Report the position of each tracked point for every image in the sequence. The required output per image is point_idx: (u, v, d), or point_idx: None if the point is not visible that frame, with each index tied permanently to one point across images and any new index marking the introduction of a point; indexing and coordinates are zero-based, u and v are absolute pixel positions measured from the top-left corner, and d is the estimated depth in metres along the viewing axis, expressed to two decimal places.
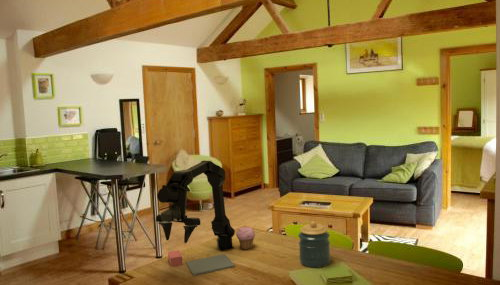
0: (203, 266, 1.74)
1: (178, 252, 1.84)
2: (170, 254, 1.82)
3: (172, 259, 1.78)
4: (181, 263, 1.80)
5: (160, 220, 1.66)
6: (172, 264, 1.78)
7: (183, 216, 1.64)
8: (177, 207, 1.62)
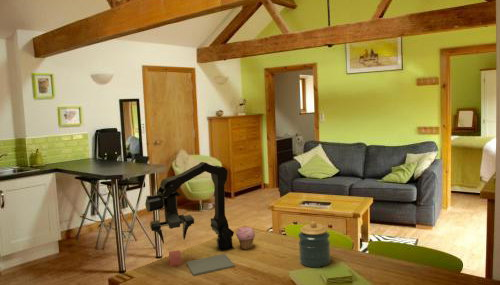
0: (203, 266, 1.74)
1: (178, 252, 1.84)
2: (170, 254, 1.83)
3: (171, 259, 1.78)
4: (180, 263, 1.79)
5: (158, 228, 1.76)
6: (171, 264, 1.79)
7: None
8: (176, 212, 1.78)
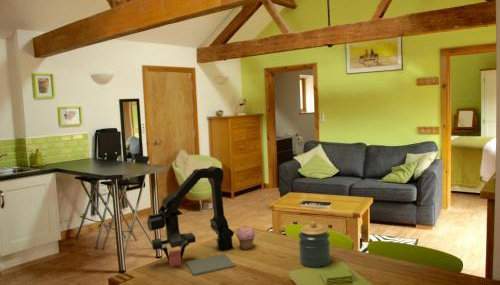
0: (203, 266, 1.74)
1: (178, 252, 1.84)
2: (170, 253, 1.83)
3: (170, 258, 1.78)
4: (180, 263, 1.79)
5: (160, 247, 1.77)
6: (170, 263, 1.79)
7: None
8: (177, 230, 1.79)
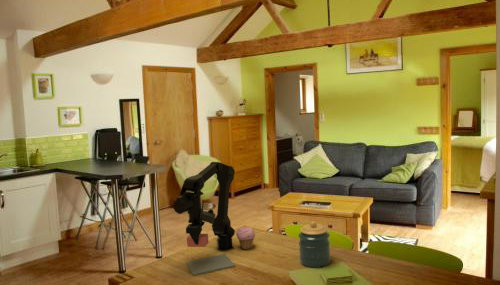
0: (203, 266, 1.74)
1: None
2: None
3: (205, 238, 1.75)
4: None
5: (201, 228, 1.70)
6: (205, 243, 1.75)
7: None
8: (202, 209, 1.78)
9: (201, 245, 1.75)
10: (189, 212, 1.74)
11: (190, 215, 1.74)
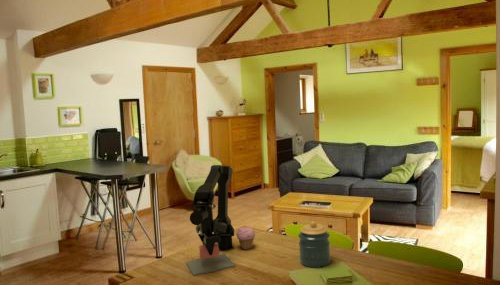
0: (203, 266, 1.74)
1: None
2: None
3: (218, 248, 1.75)
4: None
5: None
6: (218, 253, 1.75)
7: None
8: None
9: (215, 255, 1.75)
10: (203, 223, 1.72)
11: (204, 226, 1.72)
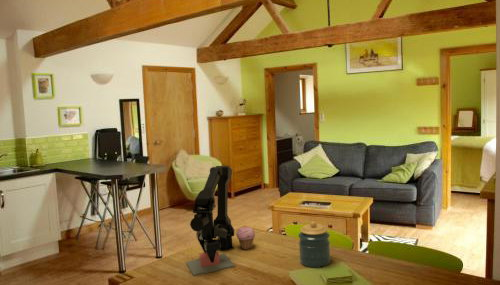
0: None
1: (206, 253, 1.78)
2: None
3: None
4: None
5: None
6: (219, 261, 1.76)
7: None
8: None
9: (216, 263, 1.75)
10: (203, 229, 1.72)
11: (204, 232, 1.73)
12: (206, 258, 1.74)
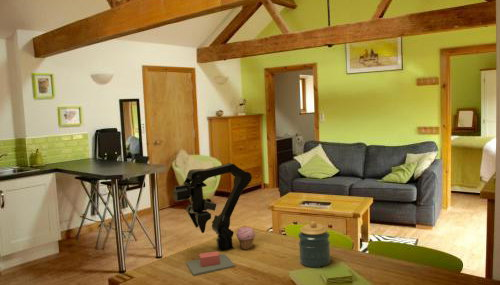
0: None
1: (206, 253, 1.78)
2: (208, 256, 1.75)
3: None
4: None
5: None
6: (219, 261, 1.76)
7: None
8: None
9: (216, 263, 1.75)
10: (194, 202, 1.84)
11: (195, 205, 1.85)
12: (206, 258, 1.74)
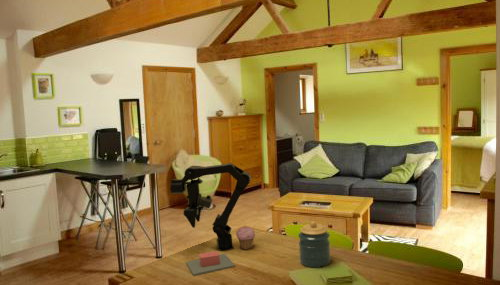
0: None
1: (206, 253, 1.78)
2: (208, 256, 1.75)
3: None
4: None
5: (197, 212, 1.89)
6: (219, 261, 1.76)
7: None
8: None
9: (216, 263, 1.75)
10: (188, 197, 1.92)
11: (189, 200, 1.93)
12: (206, 258, 1.74)
